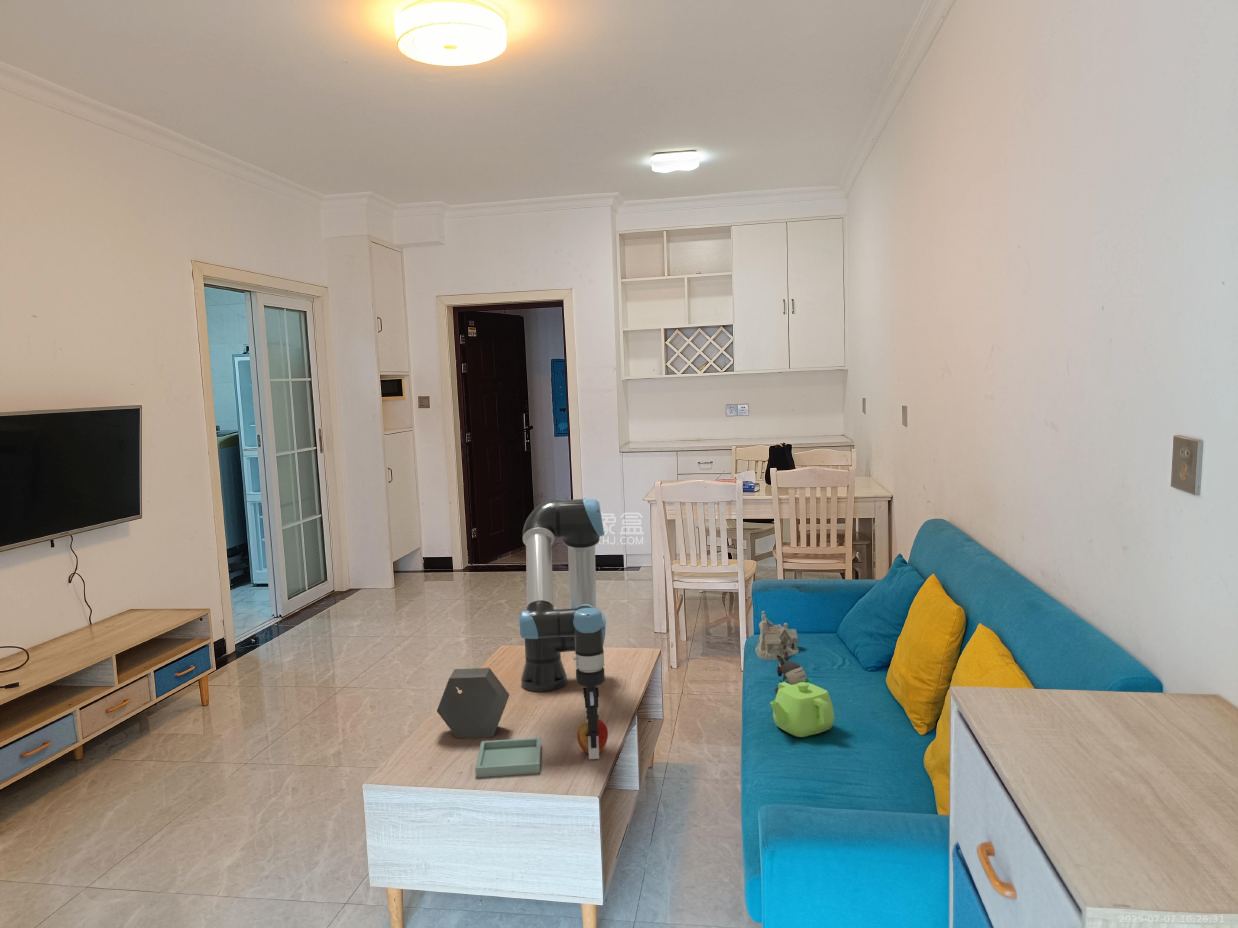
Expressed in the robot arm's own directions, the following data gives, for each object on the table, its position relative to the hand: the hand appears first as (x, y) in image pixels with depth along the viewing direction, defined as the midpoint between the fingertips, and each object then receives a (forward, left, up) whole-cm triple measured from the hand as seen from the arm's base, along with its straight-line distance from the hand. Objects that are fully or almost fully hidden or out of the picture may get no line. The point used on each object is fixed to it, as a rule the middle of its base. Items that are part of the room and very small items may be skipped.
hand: (593, 750), depth 215 cm
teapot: (-5, +57, -1) cm, 57 cm away
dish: (+2, -22, 0) cm, 22 cm away
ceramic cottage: (-71, +69, -1) cm, 99 cm away
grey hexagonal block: (-18, -33, -1) cm, 38 cm away
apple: (0, 0, 0) cm, 1 cm away
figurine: (-33, +64, -1) cm, 72 cm away
